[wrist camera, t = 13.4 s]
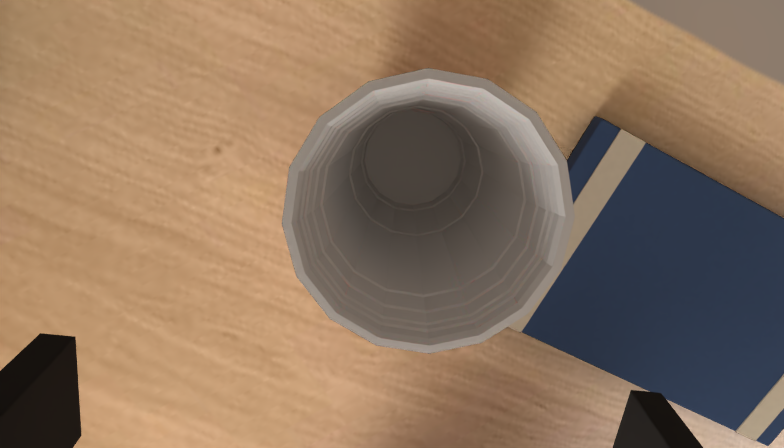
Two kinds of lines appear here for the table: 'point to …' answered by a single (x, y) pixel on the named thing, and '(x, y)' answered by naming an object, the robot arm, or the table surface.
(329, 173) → the plastic cup
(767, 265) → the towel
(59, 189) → the table surface
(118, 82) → the table surface
